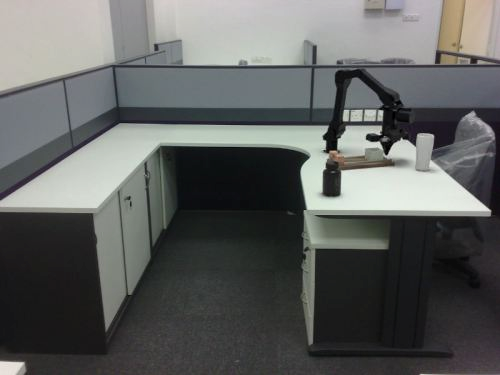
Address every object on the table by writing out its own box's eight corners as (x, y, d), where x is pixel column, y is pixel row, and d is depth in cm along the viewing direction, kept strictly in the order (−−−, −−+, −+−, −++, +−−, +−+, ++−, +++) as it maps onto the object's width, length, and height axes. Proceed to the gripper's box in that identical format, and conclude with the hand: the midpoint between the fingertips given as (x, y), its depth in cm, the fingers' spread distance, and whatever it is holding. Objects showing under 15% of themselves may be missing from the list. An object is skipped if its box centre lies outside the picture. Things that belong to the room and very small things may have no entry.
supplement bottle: (338, 190, 176) (340, 159, 173) (342, 196, 170) (344, 164, 166) (320, 190, 176) (321, 160, 172) (323, 197, 170) (324, 165, 166)
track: (326, 161, 213) (327, 150, 211) (379, 157, 218) (380, 146, 216) (338, 170, 200) (339, 158, 198) (394, 165, 205) (395, 153, 203)
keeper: (364, 158, 212) (365, 148, 210) (376, 157, 213) (377, 147, 211) (370, 161, 206) (371, 151, 205) (383, 160, 207) (383, 150, 206)
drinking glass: (419, 172, 195) (423, 137, 190) (410, 168, 201) (413, 134, 196) (433, 171, 197) (437, 136, 192) (424, 166, 203) (427, 132, 198)
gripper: (377, 125, 196) (375, 161, 201) (418, 123, 199) (414, 158, 205) (366, 120, 206) (363, 155, 211) (404, 118, 210) (401, 152, 215)
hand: (386, 155), depth 210 cm, fingers closed
